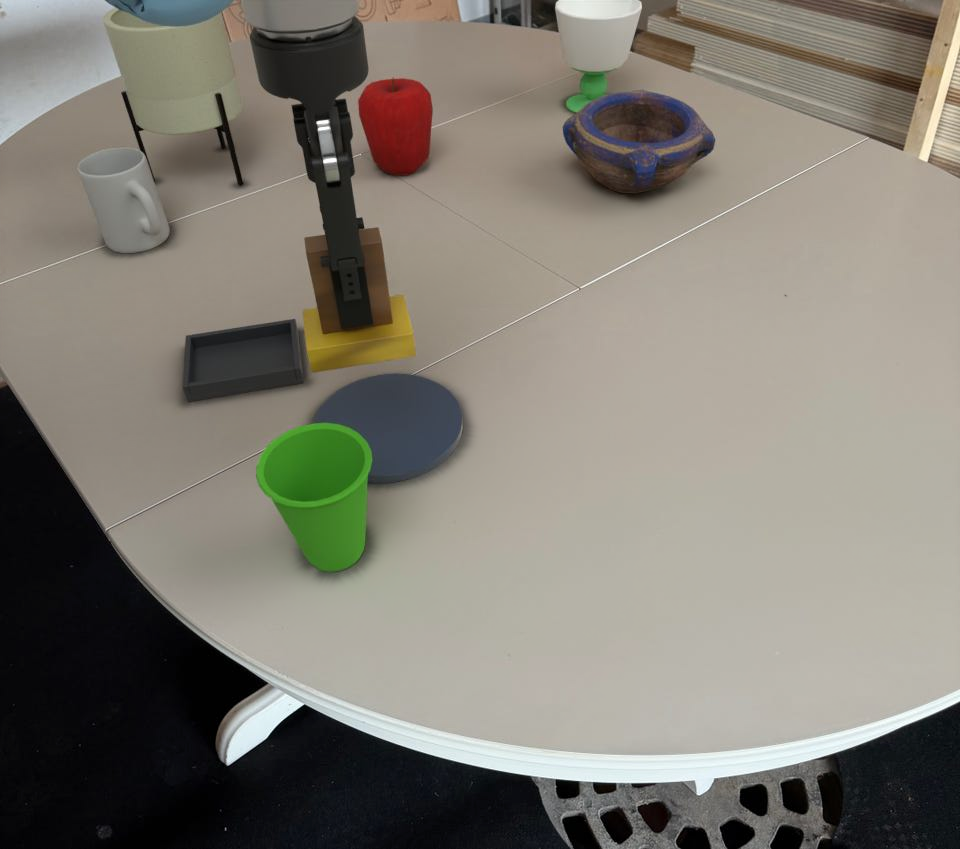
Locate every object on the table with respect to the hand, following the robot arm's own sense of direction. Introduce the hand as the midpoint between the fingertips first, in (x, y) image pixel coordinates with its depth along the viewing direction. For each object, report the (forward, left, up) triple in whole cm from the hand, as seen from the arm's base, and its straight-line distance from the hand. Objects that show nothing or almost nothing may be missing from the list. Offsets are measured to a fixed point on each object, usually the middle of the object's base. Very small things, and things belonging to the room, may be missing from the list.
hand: (354, 313), depth 70 cm
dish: (-13, +16, -16) cm, 26 cm away
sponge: (0, 0, -3) cm, 3 cm away
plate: (+1, +2, -16) cm, 16 cm away
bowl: (+43, +45, -16) cm, 65 cm away
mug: (-26, +47, -16) cm, 56 cm away
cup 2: (+46, +73, -16) cm, 88 cm away
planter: (-18, +66, -16) cm, 70 cm away
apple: (+11, +59, -16) cm, 62 cm away
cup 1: (-5, -12, -16) cm, 21 cm away
